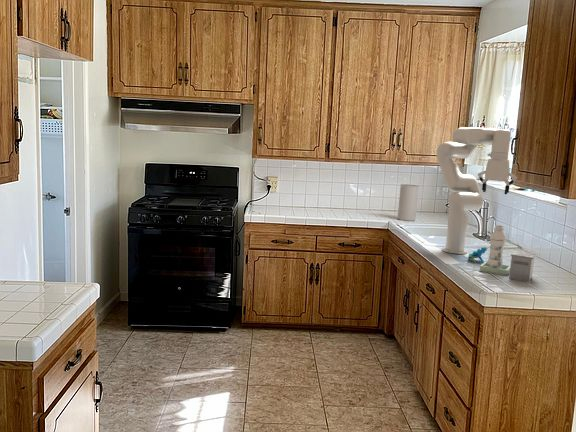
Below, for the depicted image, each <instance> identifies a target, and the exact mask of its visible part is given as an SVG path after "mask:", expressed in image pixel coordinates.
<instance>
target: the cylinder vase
mask: <svg viewBox="0 0 576 432" xmlns="http://www.w3.org/2000/svg"><path fill="white" fill-rule="evenodd" d="M419 188H420V187H419V185H415V184H403V183H402V184H400V189H399V199H398V211H397V219H398V220H400V221H403V222H414V221H416V216H417V207H418V196H419Z"/></svg>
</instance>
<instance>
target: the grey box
mask: <svg viewBox="0 0 576 432" xmlns="http://www.w3.org/2000/svg"><path fill="white" fill-rule="evenodd" d="M536 256H537V254H536V253H531V252H527V251H521V250H514V251H512V253H510V257H511V260H510V265H509V266H510V272H509V274H508V279H510V280H516V281H521V282H528V283H530V281H531V280H532V278H533V273H534V263H535V257H536Z"/></svg>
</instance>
